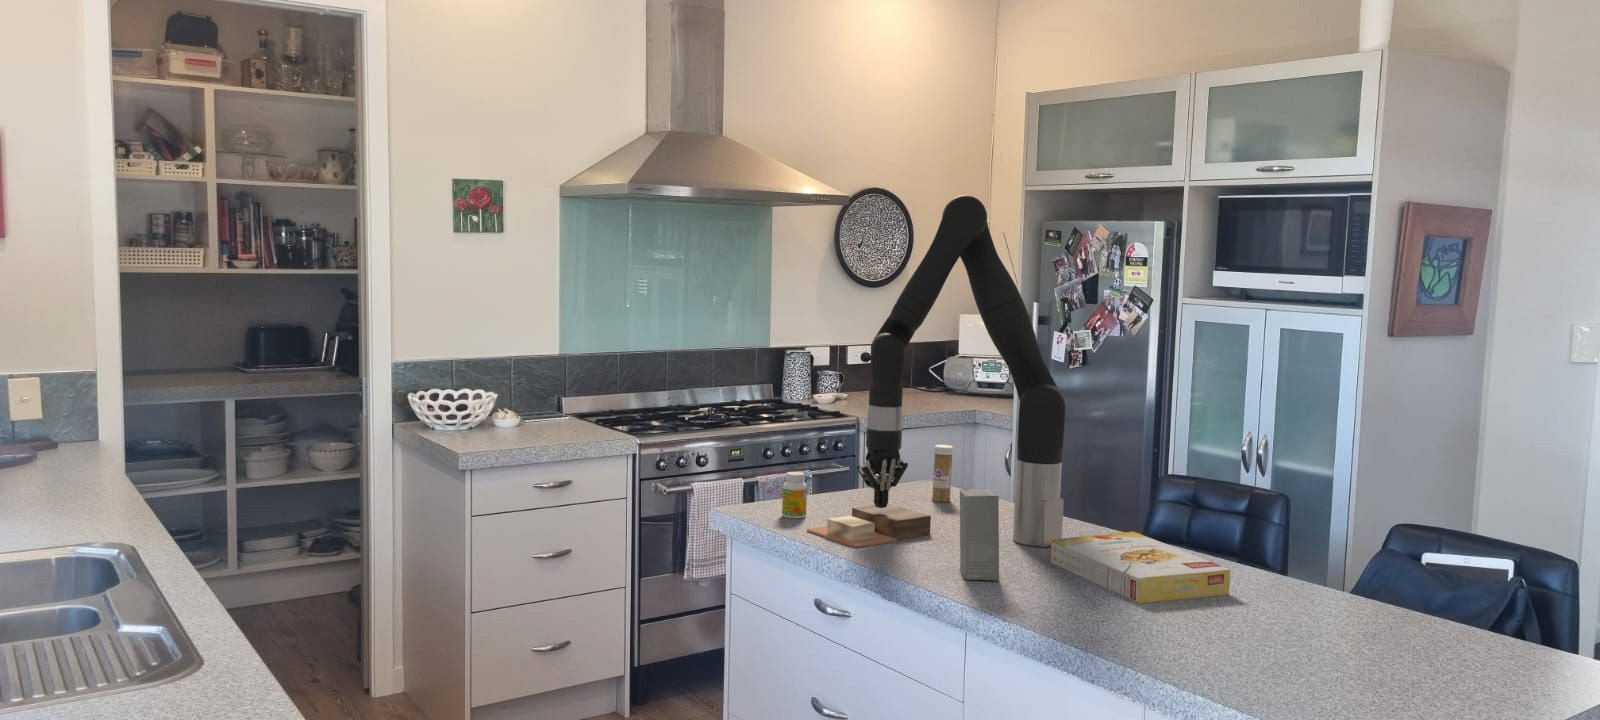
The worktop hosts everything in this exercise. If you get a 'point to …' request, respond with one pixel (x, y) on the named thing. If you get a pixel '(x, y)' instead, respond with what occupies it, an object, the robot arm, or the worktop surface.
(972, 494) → the skincare box
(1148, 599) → the cereal box
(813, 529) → the terracotta mat
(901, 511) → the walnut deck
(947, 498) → the sprinkles bottle
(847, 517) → the birch block
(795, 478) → the supplement bottle
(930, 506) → the worktop surface
